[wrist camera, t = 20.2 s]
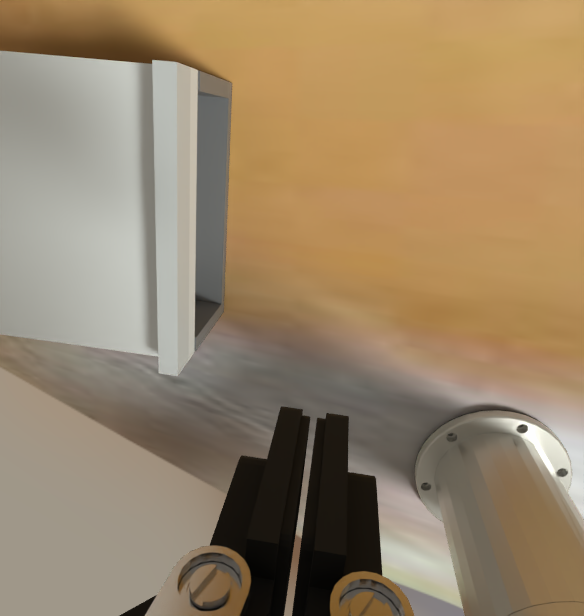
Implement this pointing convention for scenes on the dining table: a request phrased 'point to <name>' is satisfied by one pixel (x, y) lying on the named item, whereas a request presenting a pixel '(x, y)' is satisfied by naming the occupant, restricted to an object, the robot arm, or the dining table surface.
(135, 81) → the lid
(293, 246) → the dining table surface
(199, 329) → the housing
